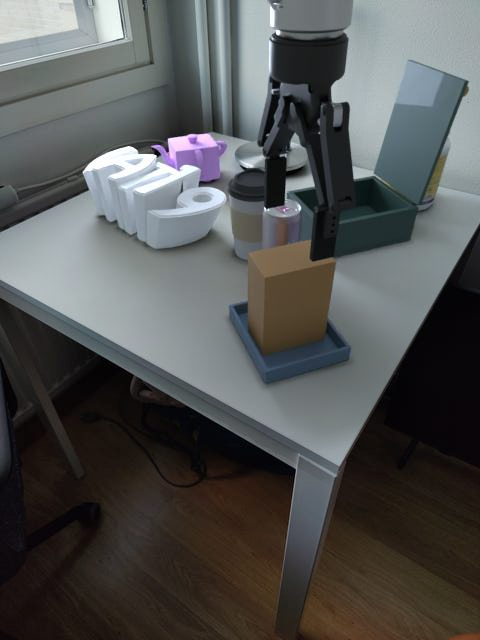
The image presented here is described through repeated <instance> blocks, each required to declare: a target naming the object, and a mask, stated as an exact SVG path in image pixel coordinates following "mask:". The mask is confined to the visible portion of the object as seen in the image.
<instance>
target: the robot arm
mask: <svg viewBox="0 0 480 640" xmlns="http://www.w3.org/2000/svg"><path fill="white" fill-rule="evenodd" d="M266 2H267V3H268V4H269V5H270V6H269V7H270V9H269V10H270V11H269V12H270V13H269V14H270V15H269V25H270V26H271V28H272V29H273V30H276V31H275V32H273V33H272V34H271V36H270V37H269V39H268V77H267V92H266V97H265V103H264V107H263V112H262V115H261V120H260V125H259V129H258V133H257V134H258V135H257V138H256V145H257V146H258V148H262V152H261V153H262V156H263V158H265V159H264V171H265V179H264V207H265V208H266V209H269V208H274V207H279V206H284V205H285V199H286V188H287V187H286V186H287V167H288V165H287V164H288V157H286V156H285V155H287V154H289V150H288V146H289V144H290V143H291V141H292V139H293V137H294V136H295V135H296V136H297V137H298V140H299V144H300V146H301V147H302V148H304V149H305V150H306V155H307V160H308V164H309V168H310V172H311V176H312V180H313V185H314V187H315V189H316V193H317V198H318V202H319V205H318V206H314V208H313V209H314V215H313V226H312V237H311V248H310V260H311V261H312V262H314V261H319V260H323V259H327V258H331V257H333V258H335V257H334V252H335V244H336V237H337V234H338V228H339V221H340V214H341V211H346V210H351V209H355V207H356V196H355V186H354V179H355V178H354V167H353V158H352V157H353V156H352V149H351V138H350V130H349V129H350V116H351V114H350V113H351V106H350V105H351V104H350V103H349V102H348V101H341V102H333V99H332V87H333V85H334V84H335V83H336V82H337V81H339V80H340V79H342V78H343V77H344V76H345V73H346V65H347V59H348V50H349V49H348V48H349V40H350V38H349V37H348V34H347V33H346V32H345V30H347V29H348V28H349V27H350V26H352V20H353V19H352V18H353V9H354V0H266Z"/></svg>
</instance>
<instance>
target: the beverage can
mask: <svg viewBox="0 0 480 640" xmlns="http://www.w3.org/2000/svg"><path fill="white" fill-rule="evenodd" d="M301 223H302V212H301V206H300V204H298V203H297V202H295V201H292V200H288V199H286V198H285V205H284V206H279V207H274V208H269V209H266V208H265V207H264V212H263V231H262V250H264V249H269V248H273V247H278V246H283V245H288V244H292V243H297V242H301V240H300V234H301Z"/></svg>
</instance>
